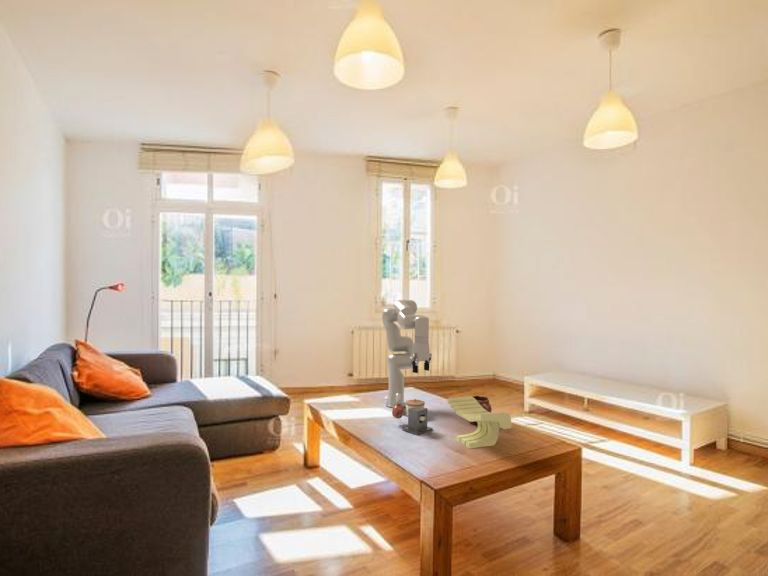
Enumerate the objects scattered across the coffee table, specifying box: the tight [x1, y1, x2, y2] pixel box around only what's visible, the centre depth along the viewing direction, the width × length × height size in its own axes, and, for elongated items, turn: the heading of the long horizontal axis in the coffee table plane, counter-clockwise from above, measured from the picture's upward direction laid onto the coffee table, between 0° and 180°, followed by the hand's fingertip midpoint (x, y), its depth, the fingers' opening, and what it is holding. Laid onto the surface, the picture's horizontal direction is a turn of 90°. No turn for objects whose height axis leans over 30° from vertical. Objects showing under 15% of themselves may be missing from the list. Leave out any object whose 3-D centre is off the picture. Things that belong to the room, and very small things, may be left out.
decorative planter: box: [468, 395, 493, 426], centre depth 242 cm, size 20×12×14 cm, turn 20°
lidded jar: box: [405, 398, 426, 412], centre depth 255 cm, size 11×11×9 cm
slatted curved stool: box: [447, 395, 512, 449], centre depth 214 cm, size 30×16×18 cm, turn 20°
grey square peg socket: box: [402, 406, 434, 436], centre depth 229 cm, size 10×12×11 cm
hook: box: [391, 393, 426, 422], centre depth 233 cm, size 20×7×13 cm, turn 44°
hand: (421, 371), depth 241 cm, fingers open, 9 cm apart
